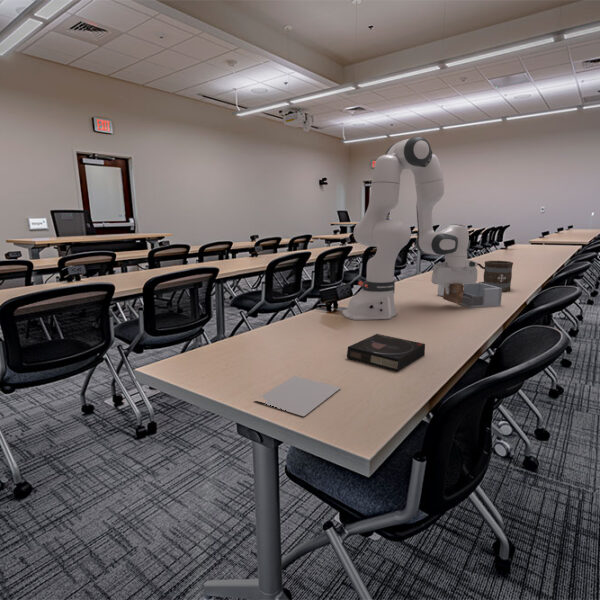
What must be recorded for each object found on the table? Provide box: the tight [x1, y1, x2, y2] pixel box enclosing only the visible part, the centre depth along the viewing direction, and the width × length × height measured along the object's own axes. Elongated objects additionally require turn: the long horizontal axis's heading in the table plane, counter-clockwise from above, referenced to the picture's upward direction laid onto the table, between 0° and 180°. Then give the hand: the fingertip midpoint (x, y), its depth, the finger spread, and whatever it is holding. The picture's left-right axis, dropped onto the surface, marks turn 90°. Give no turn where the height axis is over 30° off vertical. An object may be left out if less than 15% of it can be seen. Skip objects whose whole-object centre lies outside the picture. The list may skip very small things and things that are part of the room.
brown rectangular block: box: [442, 284, 464, 304], centre depth 177 cm, size 3×10×8 cm, turn 11°
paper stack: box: [259, 375, 342, 417], centre depth 102 cm, size 23×25×1 cm
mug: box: [477, 260, 514, 294], centre depth 214 cm, size 20×14×15 cm
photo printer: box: [437, 284, 444, 297], centre depth 199 cm, size 10×4×12 cm, turn 28°
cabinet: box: [457, 282, 503, 309], centre depth 184 cm, size 15×15×8 cm
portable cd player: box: [346, 333, 426, 373], centre depth 120 cm, size 16×17×4 cm
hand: (452, 293), depth 177 cm, fingers closed on brown rectangular block, 3 cm apart
